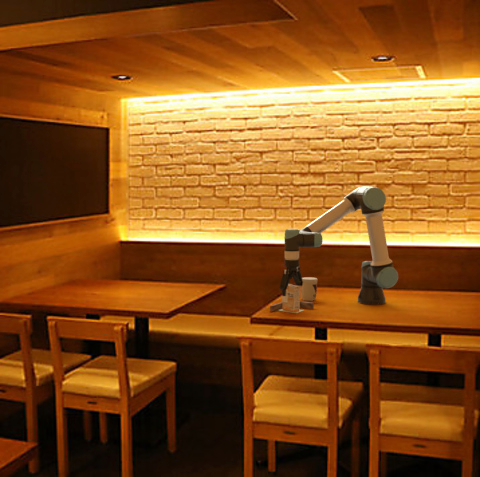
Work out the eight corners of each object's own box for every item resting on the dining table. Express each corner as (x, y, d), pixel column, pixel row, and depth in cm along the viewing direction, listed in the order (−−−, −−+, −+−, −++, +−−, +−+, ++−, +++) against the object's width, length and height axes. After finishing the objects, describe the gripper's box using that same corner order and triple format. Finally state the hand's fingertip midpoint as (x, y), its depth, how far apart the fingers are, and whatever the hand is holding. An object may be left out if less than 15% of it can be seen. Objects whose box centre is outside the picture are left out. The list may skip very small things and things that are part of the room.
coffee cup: (316, 301, 378) (316, 279, 377) (299, 300, 380) (300, 279, 379) (318, 298, 388) (318, 277, 386) (301, 297, 389) (301, 276, 388)
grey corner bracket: (313, 308, 358) (313, 302, 358) (294, 314, 341) (294, 308, 341) (289, 305, 366) (289, 299, 366) (270, 311, 349) (270, 305, 349)
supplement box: (281, 309, 353) (282, 284, 352) (288, 308, 356) (288, 283, 355) (293, 312, 347) (294, 286, 346) (300, 310, 350) (300, 285, 349)
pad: (304, 310, 352) (304, 310, 352) (296, 313, 345) (296, 312, 345) (285, 308, 358) (285, 307, 358) (277, 310, 351) (277, 310, 351)
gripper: (297, 256, 361) (296, 295, 363) (273, 261, 341) (272, 303, 343) (309, 257, 357) (309, 297, 359) (286, 262, 337) (285, 304, 339)
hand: (291, 300), depth 351 cm, fingers open, 13 cm apart
